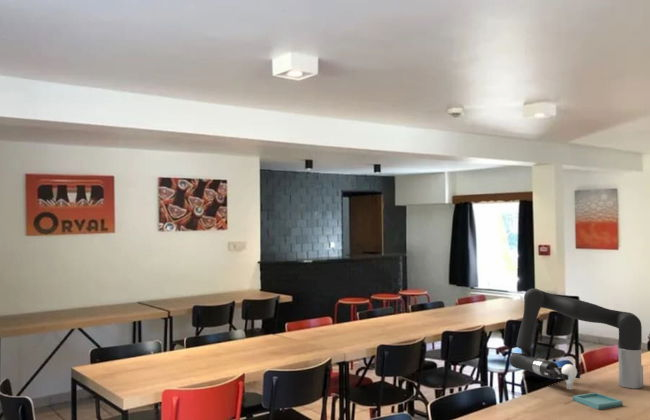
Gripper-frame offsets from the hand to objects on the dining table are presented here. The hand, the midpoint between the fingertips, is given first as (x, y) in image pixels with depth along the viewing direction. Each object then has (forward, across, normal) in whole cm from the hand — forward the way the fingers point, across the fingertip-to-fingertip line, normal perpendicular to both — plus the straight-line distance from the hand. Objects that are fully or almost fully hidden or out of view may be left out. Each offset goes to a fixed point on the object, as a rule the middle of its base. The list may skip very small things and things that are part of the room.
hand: (573, 376), depth 244 cm
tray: (+12, 0, +8) cm, 15 cm away
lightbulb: (-2, 0, +6) cm, 7 cm away
